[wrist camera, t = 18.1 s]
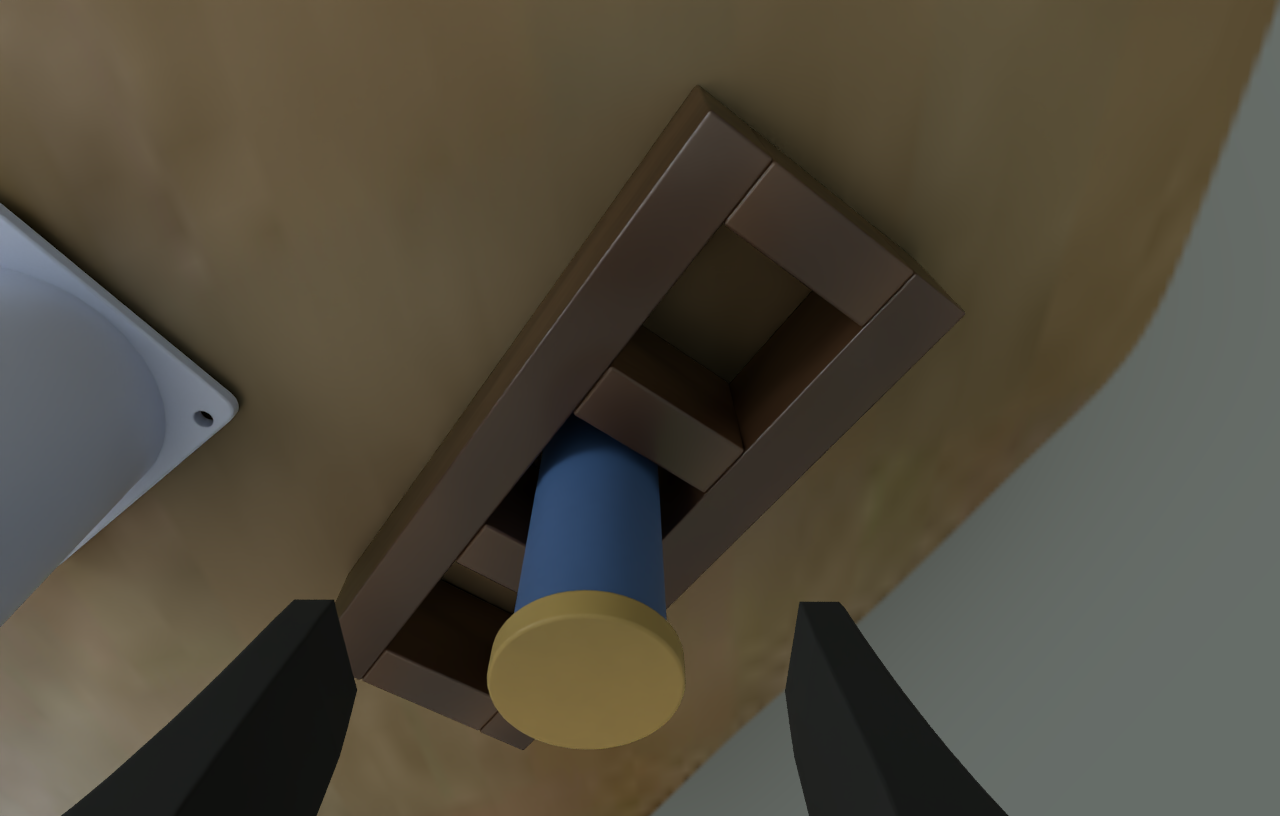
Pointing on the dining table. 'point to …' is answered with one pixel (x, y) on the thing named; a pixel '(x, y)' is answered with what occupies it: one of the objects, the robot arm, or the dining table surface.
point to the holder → (643, 400)
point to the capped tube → (590, 602)
